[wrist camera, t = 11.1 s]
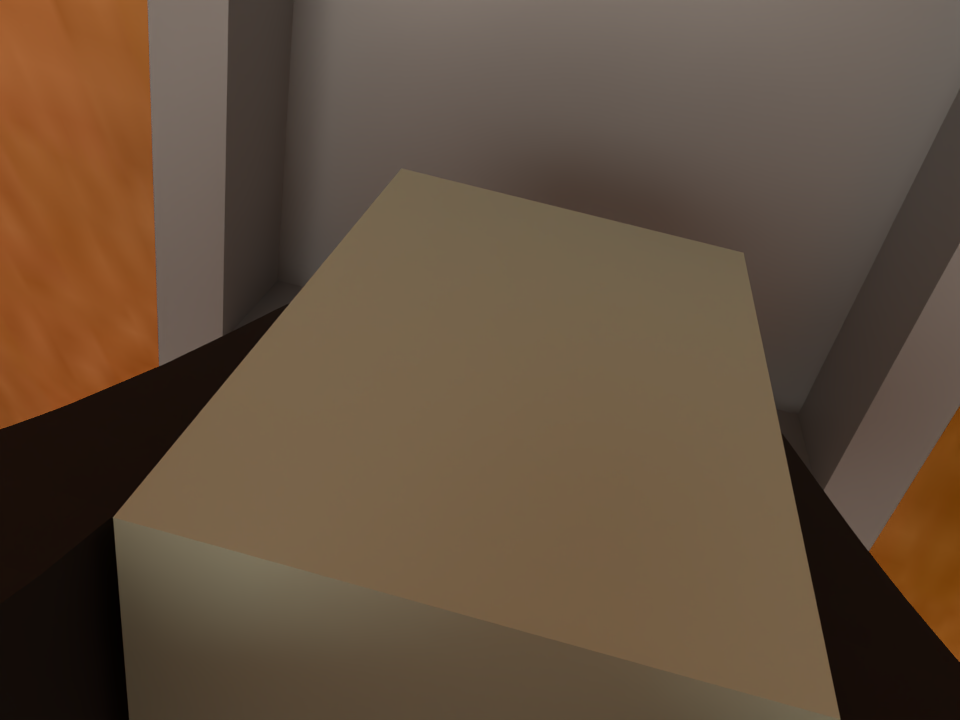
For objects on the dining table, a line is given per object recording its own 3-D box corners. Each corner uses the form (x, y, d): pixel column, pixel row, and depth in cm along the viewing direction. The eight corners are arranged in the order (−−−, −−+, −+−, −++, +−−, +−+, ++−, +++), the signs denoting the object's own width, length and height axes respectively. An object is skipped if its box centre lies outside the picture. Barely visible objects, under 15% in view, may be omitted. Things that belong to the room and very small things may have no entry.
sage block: (641, 510, 12) (627, 1022, 6) (364, 436, 12) (142, 875, 7) (743, 252, 9) (841, 719, 4) (400, 168, 10) (113, 517, 5)
